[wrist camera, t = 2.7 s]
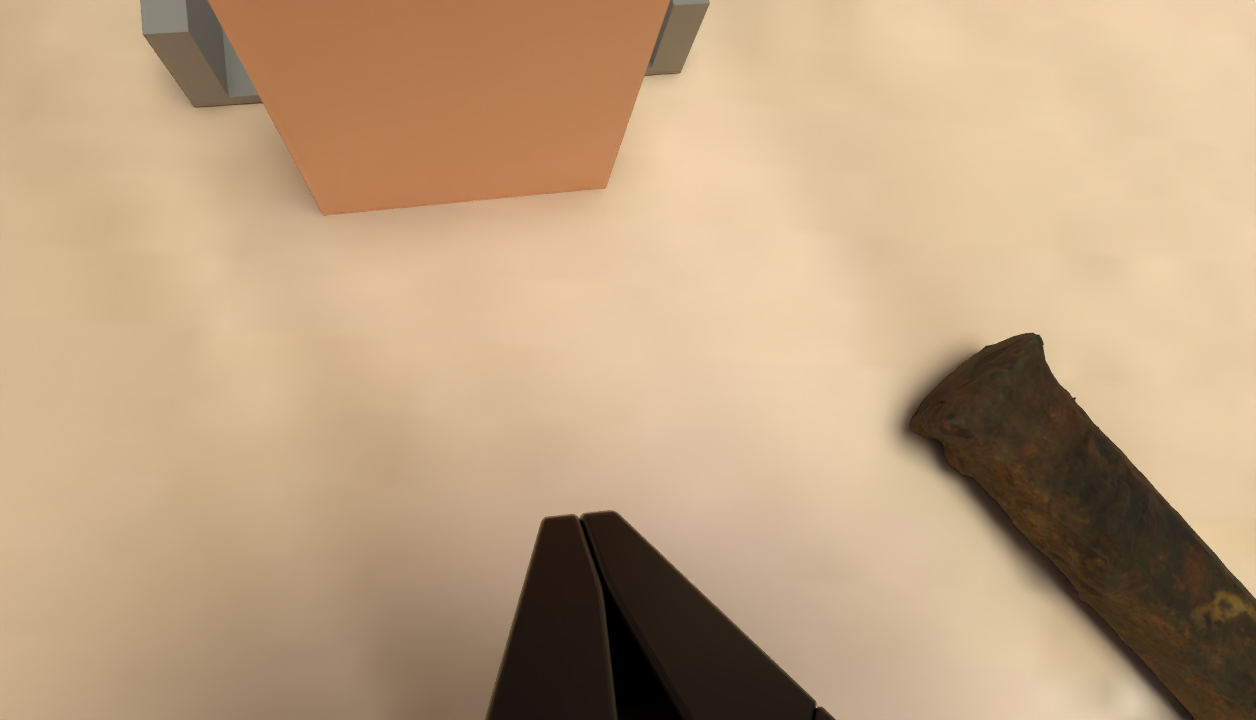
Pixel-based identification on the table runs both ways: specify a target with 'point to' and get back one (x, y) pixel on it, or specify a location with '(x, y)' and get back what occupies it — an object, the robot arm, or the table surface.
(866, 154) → the table surface
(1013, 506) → the hand tool
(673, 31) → the tray
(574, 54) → the tile
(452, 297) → the table surface
